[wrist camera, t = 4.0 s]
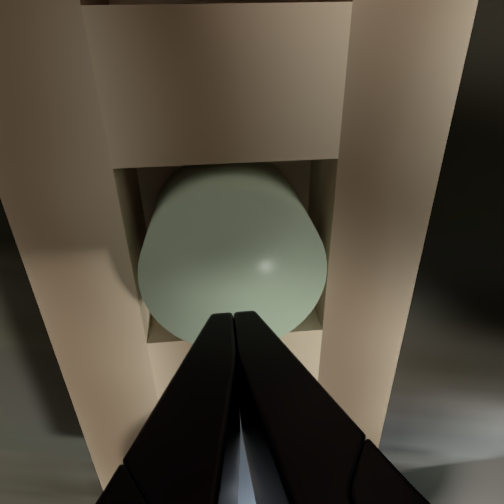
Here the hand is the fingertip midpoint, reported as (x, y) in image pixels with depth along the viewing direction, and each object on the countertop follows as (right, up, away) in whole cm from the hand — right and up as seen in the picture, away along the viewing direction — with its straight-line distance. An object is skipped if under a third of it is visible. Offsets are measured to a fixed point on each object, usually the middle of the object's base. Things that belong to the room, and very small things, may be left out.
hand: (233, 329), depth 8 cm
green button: (0, +2, +4) cm, 5 cm away
